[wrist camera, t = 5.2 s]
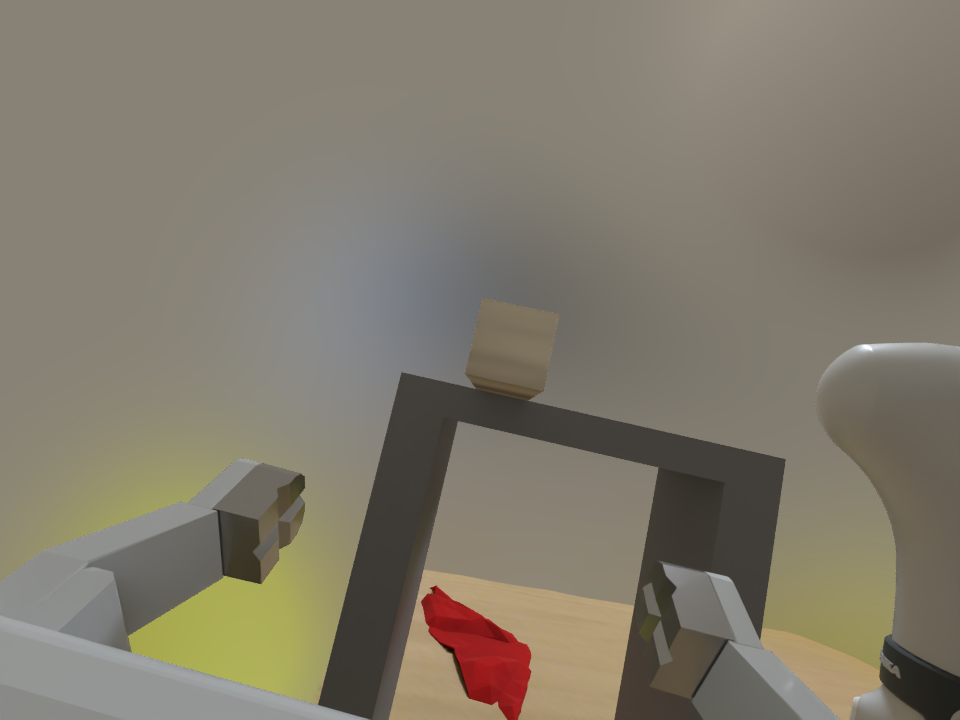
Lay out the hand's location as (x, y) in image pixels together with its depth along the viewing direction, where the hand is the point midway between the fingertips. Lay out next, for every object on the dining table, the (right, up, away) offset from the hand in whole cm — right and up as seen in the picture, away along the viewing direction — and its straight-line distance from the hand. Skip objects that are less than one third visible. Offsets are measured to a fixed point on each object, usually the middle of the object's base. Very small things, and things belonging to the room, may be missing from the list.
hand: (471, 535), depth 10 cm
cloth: (-1, -28, +39) cm, 48 cm away
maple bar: (+2, +2, +18) cm, 18 cm away
